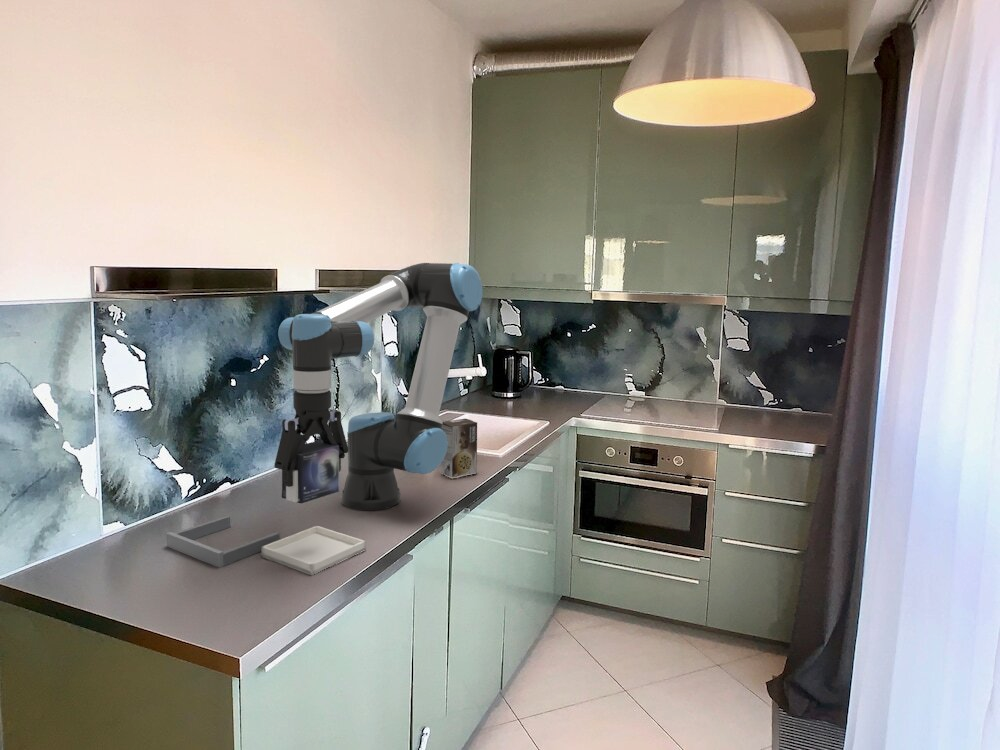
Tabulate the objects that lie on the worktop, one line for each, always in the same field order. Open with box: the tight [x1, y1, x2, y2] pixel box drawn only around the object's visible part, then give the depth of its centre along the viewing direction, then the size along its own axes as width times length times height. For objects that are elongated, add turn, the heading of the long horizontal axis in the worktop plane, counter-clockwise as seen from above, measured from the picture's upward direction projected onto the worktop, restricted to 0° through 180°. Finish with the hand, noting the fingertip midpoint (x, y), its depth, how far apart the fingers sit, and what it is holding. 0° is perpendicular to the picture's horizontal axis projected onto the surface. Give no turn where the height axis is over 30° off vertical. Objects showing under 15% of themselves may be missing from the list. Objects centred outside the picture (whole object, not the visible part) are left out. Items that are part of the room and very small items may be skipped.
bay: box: [165, 515, 280, 568], centre depth 151 cm, size 15×18×3 cm
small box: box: [281, 440, 340, 504], centre depth 146 cm, size 11×6×10 cm, turn 147°
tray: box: [260, 525, 367, 576], centre depth 148 cm, size 15×15×2 cm
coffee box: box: [440, 418, 478, 477], centre depth 206 cm, size 9×6×16 cm
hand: (313, 493), depth 146 cm, fingers closed on small box, 10 cm apart
